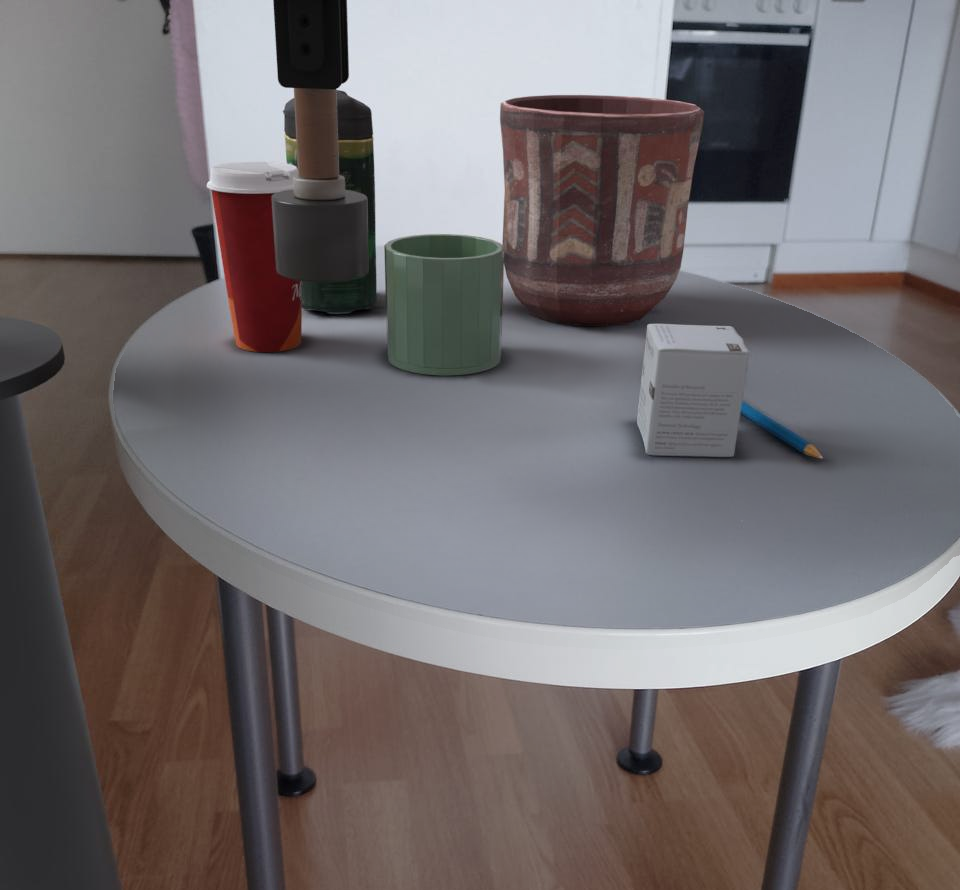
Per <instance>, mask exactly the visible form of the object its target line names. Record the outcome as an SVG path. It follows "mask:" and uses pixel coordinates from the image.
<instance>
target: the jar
mask: <svg viewBox="0 0 960 890" xmlns="http://www.w3.org/2000/svg"><path fill="white" fill-rule="evenodd" d="M383 250H384V284H385V285H384V286H385V287H384V288H385V321H386V328H385V329H386V351H387V360H388V362H389V364H391V365H392V366H394V367H395V368H398V369H400V370H403V371H405V372H409V373H412V374H413V373H414V374H419V375H425V376H427V375H428V376H443V377H446V376H464V375H465V376H466V375H473V374H478V373H482V372H485V371H487V370H491V369H493V368H494V367H497V366H498V365H499V364H500V362H501V358H502V357H501V355H502V338H503V308H504V306H503V305H504V274H505V272H504V271H505V266H504V247H503V243H501V242H499V241H496V240H494V239H491V238H486V237H482V236H475V235H468V234H456V233H455V234H452V233H432V234H431V233H429V234H427V233H426V234H425V233H424V234H414V235H408V236H407V235H406V236H402V237H397V238H394V239H391V240H389V241H387V242H386V243H385V244H384V249H383Z"/></svg>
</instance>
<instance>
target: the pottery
mask: <svg viewBox="0 0 960 890" xmlns="http://www.w3.org/2000/svg"><path fill="white" fill-rule="evenodd" d="M499 109H500V110H499V114H500V115H499V125H500V135H501V145H502V156H503V157H502V158H503V186H504V196H503V222H502V245H503V247H504V271H505V274H506V275H505V276H506V279H507V280H508V284H509V285H510V287H511V290H512V292H513V295H514V297H516V299H517V300H518V301H519V302H520V304H521V305H522V306H523V307H524V308H525V309H526V311H527V312H528V313H530V314H531V315H532V316H534V317H535V318H538V319H541V320H544V321H546V322H550V323H556V324H561V325H568V326H569V325H571V326H583V327H608V326H609V327H611V326H617V325H627V324H632V323H634V322H638V321H641V320H642V319H643V318H644V317H645V316H647V315H648V314H649V313H650V312H651V311H652V310H653V309H654V308H656V306H658V305H659V304H660V303H661V302H663V300H664V299H665V298H666V296H667V295H668V293H669V292H670V290H671V288H672V287H673V285H674V284H675V282H676V281H677V278H678V276H679V273H680V270H681V268H682V262H683V256H684V249H685V238H686V231H687V230H686V228H687V220H688V211H689V204H690V203H689V202H690V196H691V190H692V182H693V175H694V168H695V164H696V158H697V154H698V149H699V144H700V140H701V136H702V131H703V125H704V117H705V111H704V110H703V109H702V108H700V107H699V106H697V105H696V104H694V103H689V102H684V101H679V100H671V99H662V98H654V97H653V98H652V97H641V96H625V95H624V96H623V95H603V94H602V95H600V94H547V95H529V96H528V95H527V96H521V97H514V98H510V99H507V100H504V101H502V102H501V103H500V108H499Z"/></svg>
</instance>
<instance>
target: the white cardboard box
mask: <svg viewBox="0 0 960 890" xmlns="http://www.w3.org/2000/svg"><path fill="white" fill-rule="evenodd" d="M750 355H751V353H750V351H749V349H748V348H747V346H746V344H745V342H744V339H743V337H742V336H741V335H740V334H739V333H738V332H737V330H736V329H735V328H734V326H731V325H697V324H694V325H693V324H677V323H676V324H675V323H674V324H673V323H648V324H647V326H646V335H645V346H644V353H643V360H642V361H643V362H642V371H641V380H640V388H639V397H638V407H637V417H636V424H637V427H638V429H639V432H640V435H641V438H642V441H643V445H644V451H645V454H647V455H649V456H657V457H658V456H660V457H703V458H705V457H706V458H712V457H713V458H733V457H734V456H735V453H736V444H737V438H738V432H739V425H740V420H741V419H740V418H741V413H740V412H741V406H742V401H744V400H743V399H744V393H745V387H746V381H747V373H748V367H749V360H750Z"/></svg>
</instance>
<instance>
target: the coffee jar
mask: <svg viewBox="0 0 960 890" xmlns="http://www.w3.org/2000/svg"><path fill="white" fill-rule="evenodd" d="M336 95H337V126H338V156H339V175H342V176H344V178H345V190H350V191H355V192H359V193H361V194H364V195H365V196H366V197H367V206H368V256H369V271H368V273H367V274H366V275H365V276H363V277H360V278H357V279H353V280H347V281H339V282H307V281H301V287H302V310H303V309H304V310H305V311H318V312H326V314H329V315H347V314H350V313H353V312H355V311H361V310H369V309H372V308H373V307H374V306H375V304H376V302H377V244H376V239H377V237H376V227H377V226H376V225H377V224H376V181H375V179H376V177H375V176H376V175H375V150H374V136H373V135H374V129H373V128H374V127H373V114H372V109H371V108H370V107H369V106H368V105H367V104H365V103H364V102H362V101H360V100H358V99H356V98H354V97H352V96H350V95H348V93H347V92H346V91H344V90H339V89H336ZM282 113H283V116H284V119H283V121H284V126H283V127H284V128H283V131H284V141H285V143H284V145H285V159H286V164H290V165H294V166H296V167H297V169H298V161H297V142H296V122H295V103H294V97H292V98H291V99H289V100H288V101H287V102H286V103H285V105H284V110H282Z"/></svg>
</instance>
